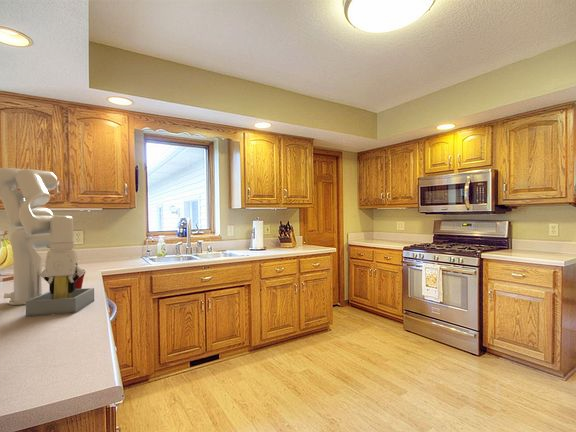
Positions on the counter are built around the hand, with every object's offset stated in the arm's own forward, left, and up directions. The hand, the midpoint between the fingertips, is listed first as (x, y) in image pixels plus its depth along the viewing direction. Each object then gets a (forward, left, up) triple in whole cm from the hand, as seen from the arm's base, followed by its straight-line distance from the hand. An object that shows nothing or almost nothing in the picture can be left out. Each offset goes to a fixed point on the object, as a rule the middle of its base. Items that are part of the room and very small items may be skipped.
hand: (62, 292), depth 124 cm
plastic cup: (-5, +21, -6) cm, 22 cm away
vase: (0, 0, -4) cm, 4 cm away
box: (0, 0, -6) cm, 6 cm away
